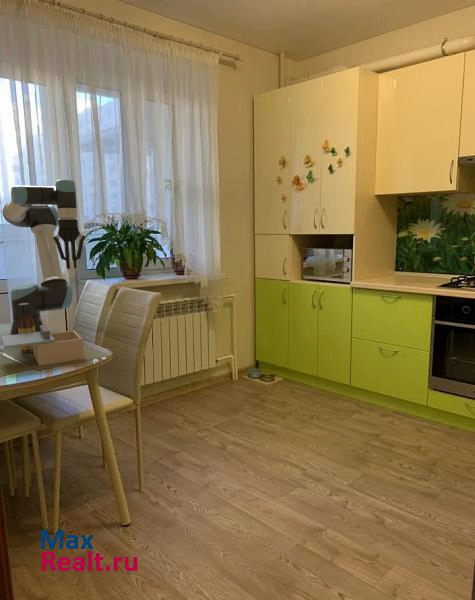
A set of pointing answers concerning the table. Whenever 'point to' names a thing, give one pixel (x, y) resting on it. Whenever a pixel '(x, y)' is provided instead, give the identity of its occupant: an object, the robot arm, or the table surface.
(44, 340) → the mailer lid
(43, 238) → the robot arm
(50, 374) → the table surface
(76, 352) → the mailer box
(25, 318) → the sauce bottle
